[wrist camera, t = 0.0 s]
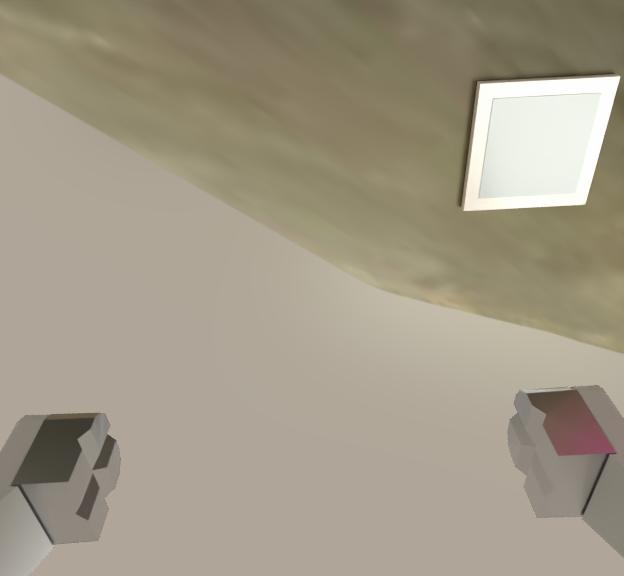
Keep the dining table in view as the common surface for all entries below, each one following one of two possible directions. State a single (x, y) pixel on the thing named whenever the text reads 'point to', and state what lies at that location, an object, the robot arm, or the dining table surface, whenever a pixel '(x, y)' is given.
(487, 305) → the dining table surface
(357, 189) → the dining table surface
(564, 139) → the plate
